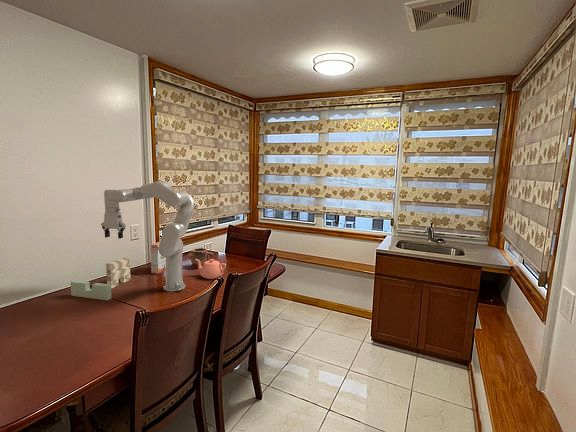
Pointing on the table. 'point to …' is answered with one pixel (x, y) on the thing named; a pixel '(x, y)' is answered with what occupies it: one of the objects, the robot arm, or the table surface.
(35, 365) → the table surface
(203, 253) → the decorative planter
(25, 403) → the table surface
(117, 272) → the maple plate
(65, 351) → the table surface
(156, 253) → the cracker box
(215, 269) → the teapot
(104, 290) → the slotted base
